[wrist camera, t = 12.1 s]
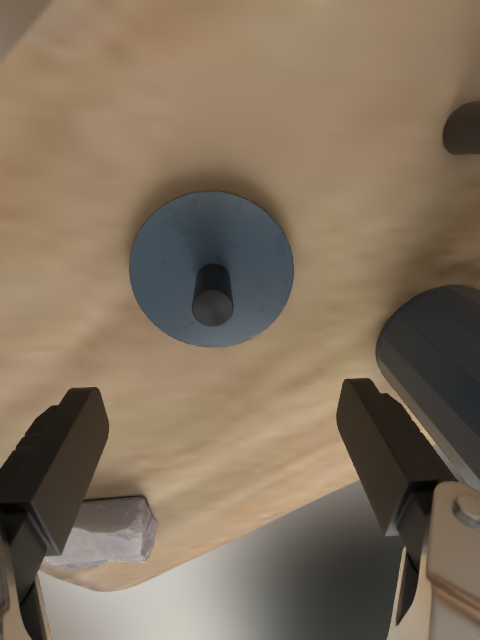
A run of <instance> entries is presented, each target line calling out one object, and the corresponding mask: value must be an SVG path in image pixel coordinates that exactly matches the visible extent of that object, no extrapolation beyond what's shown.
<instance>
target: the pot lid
mask: <svg viewBox="0 0 480 640" xmlns="http://www.w3.org/2000/svg"><path fill="white" fill-rule="evenodd" d="M129 272H130V281H131V285H132V289H133V292H134V295H135V297H136V300H137V302H138V304H139V305H140V307H141V309H142V310H143V312H144V313H145V314H146V316H147V317H148V318H149V319H150V320H151V321H152V322H153V324H154V325H156V326H157V327H158V328H159V329H160V330H162V331H163V332H165V333H166V334H168V335H169V336H171V337H173V338H175V339H177V340H179V341H182V342H184V343H187V344H191V345H195V346H201V347H226V346H231V345H235V344H239V343H242V342H244V341H247V340H249V339H251V338H253V337H255V336H256V335H258V334H260V333H261V332H262V331H264V330H265V329H266V328H268V327H269V326H270V325H271V324H272V323H273V322H274V321H275V319H276V318H277V317H278V316H279V314H280V313H281V311H282V310H283V308H284V306H285V305H286V302H287V300H288V298H289V295H290V292H291V289H292V284H293V277H294V265H293V257H292V253H291V249H290V246H289V243H288V241H287V238H286V236H285V235H284V233H283V231H282V229H281V228H280V226H279V225H278V224H277V223H276V221H275V220H274V219H273V218H272V217H271V216H270V215H269V214H268V213H267V212H266V211H265V210H264V209H262V208H261V207H260V206H258V205H257V204H255V203H254V202H252V201H250V200H248V199H246V198H244V197H241V196H239V195H236V194H233V193H228V192H223V191H211V190H209V191H197V192H192V193H188V194H185V195H182V196H179V197H177V198H174V199H173V200H171V201H169V202H167V203H165V204H164V205H163V206H161V207H160V208H159V209H158V210H156V211H155V212H154V213H153V214H152V215H151V216H150V217H149V218H148V219H147V220H146V222H145V223H144V225H143V226H142V227H141V229H140V230H139V232H138V234H137V236H136V238H135V241H134V244H133V247H132V250H131V256H130V267H129Z"/></svg>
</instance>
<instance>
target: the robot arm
mask: <svg viewBox="0 0 480 640" xmlns="http://www.w3.org/2000/svg"><path fill="white" fill-rule="evenodd" d="M336 420H337V426H338V430H339V432H340V435H341V437H342V439H343V442H344V444H345V446H346V448H347V451H348V453H349V455H350V458H351V460H352V462H353V465H354V467H355V469H356V471H357V474H358V476H359V478H360V481H361V483H362V485H363V487H364V490H365V492H366V494H367V497H368V499H369V501H370V504H371V506H372V508H373V511H374V513H375V515H376V517H377V520H378V522H379V524H380V527H381V529H382V531H383V533H384V536H391V535H400V537H401V539H402V541H403V543H404V545H405V547H404V550H403V553H402V559H401V565H400V571H399V577H398V583H397V589H396V596H395V601H394V607H393V613H392V620H391V626H390V630H389V634H388V638H387V640H480V491H478V490H476V489H475V488H473V487H471V486H469V485H466V484H464V483H460V482H458V480H457V479H456V478H455V477H454V475H453V474H452V473H451V471H450V470H449V469H448V467H447V466H446V464H445V463H444V462H443V460H442V459H441V458H440V456H439V455H438V454H437V452H436V451H435V450H434V448H433V447H432V445H431V444H430V443H429V441H428V440H427V439H426V437H425V436H424V435H423V433H421V432H420V429H419V428H418V426H417V425H416V424H415V422H414V421H412V420H411V417H410V415H409V414H408V413H407V411H406V410H405V409H404V407H403V406H402V405H401V404H400V403H399V402H397V401H396V400H395V399H394V398H392V397H391V396H390V395H388V394H387V393H382V394H381V393H380V392H379V390H378V389H377V387H376V386H375V385H374V383H373V382H372V380H371V379H369V378H356V379H345V380H344V382H343V385H342V390H341V394H340V399H339V403H338V408H337V413H336ZM108 434H109V421H108V418H107V414H106V411H105V407H104V404H103V400H102V397H101V393H100V391H99V389H98V388H97V387H86V388H71V389H69V390H68V392H67V393H66V395H65V396H64V398H63V399H62V401H61V402H60V404H59V405H54V406H51V407H49V408H48V409H47V410H46V411H45V412H43V413H42V414H41V415H40V416H38V417H37V418H36V419H35V420H34V422H33V423H32V425H31V426H30V428H29V429H28V430H27V432H26V433H25V437H23V438H22V439H21V440H20V442H19V443H18V445H17V446H16V450H15V451H13V452H12V453H11V455H10V456H9V457H8V459H7V460H6V462H5V463H4V465H3V466H2V467H1V469H0V640H52V636H51V631H50V627H49V622H48V618H47V613H46V608H45V604H44V599H43V594H42V591H41V586H40V581H39V577H38V574H37V572H38V570H39V567H40V565H41V563H42V561H43V558H44V557H47V556H61V555H62V553H63V550H64V547H65V545H66V542H67V540H68V537H69V535H70V532H71V530H72V527H73V525H74V522H75V520H76V517H77V515H78V512H79V510H80V507H81V505H82V502H83V500H84V497H85V495H86V492H87V490H88V487H89V485H90V482H91V480H92V477H93V475H94V472H95V469H96V467H97V464H98V462H99V459H100V457H101V454H102V452H103V449H104V447H105V444H106V442H107V439H108Z"/></svg>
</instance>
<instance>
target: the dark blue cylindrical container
mask: <svg viewBox="0 0 480 640" xmlns="http://www.w3.org/2000/svg"><path fill="white" fill-rule="evenodd" d="M376 358H377V363H378V366H379V368H380V370H381V373H382V374H383V376H384V377H385V378H386V380H387V381H388V382H389V383H390V385H391V386H392V387H393V389H394V390H395V391H396V392H397V394H398V395H399V396H400V398H401V399H402V400H403V401H404V403H405V404H406V405H407V407H408V408H409V409H410V410H411V412H412V413H413V414H414V416H415V417H416V418H417V419H418V421H419V422H420V423H421V425H422V426H423V427H424V428H425V430H426V431H427V432H428V434H429V435H430V436H431V437H432V439H433V440H434V441H435V443H436V444H437V445H438V446H439V447H440V449H441V450H442V452H443V453H444V454H445V455H446V457H447V458H448V459H449V461H450V462H451V463H452V464H453V466H454V467H455V468H456V470H457V471H458V472H459V473H460V475H461V476H462V477H463V479H464V480H465V481H466V482H467V484H468V485H469V486H471V487H473V488H475V489H476V490H478V491H480V290H478V289H476V288H473V287H469V286H464V285H450V286H443V287H439V288H435V289H432V290H429V291H427V292H425V293H422V294H420V295H418V296H417V297H415V298H413V299H412V300H410V301H409V302H407V303H406V304H405V305H403V306H402V307H401V308H400V309H399V310H398V311H397V312H396V313H395V314H394V315H393V316H392V317H391V318H390V320H389V321H388V322H387V324H386V325H385V327H384V328H383V330H382V332H381V334H380V337H379V340H378V343H377V348H376Z"/></svg>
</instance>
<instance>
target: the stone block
mask: <svg viewBox="0 0 480 640" xmlns="http://www.w3.org/2000/svg"><path fill="white" fill-rule="evenodd" d="M156 523H157V522H156V520H155V519H154V517H153V515H152V514H151V512H150V508H149V507H148V506H147V504H146V501H145V499H144V498H142V497H128V498H117V499H106V500H96V501H86V502H82V505H81V507H80V510H79V512H78V515H77V517H76V520H75V522H74V525H73V527H72V530H71V532H70V535H69V537H68V540H67V542H66V545H65V547H64V550H63V553H62V555H61V556H47V557H45V559H46V560H47V562H48V563H50V564H54V565H55V566H57V567H63V568H65V569H79V568H92V567H98V566H101V565H104V564H107V563H109V562H110V561H120V562H141V563H144V562H147V561H148V560H149V557H150V553H151V551H152V548H153V545H154V541H155V534H156Z"/></svg>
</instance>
